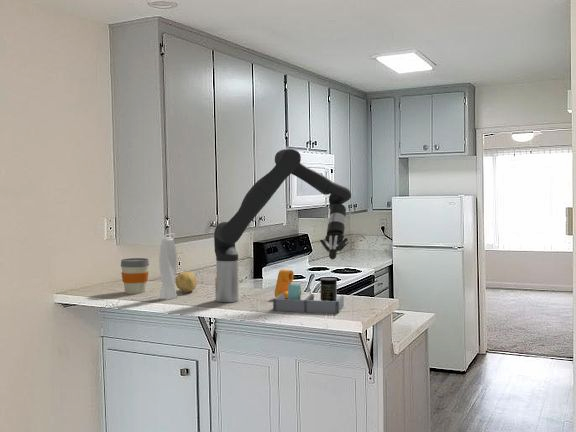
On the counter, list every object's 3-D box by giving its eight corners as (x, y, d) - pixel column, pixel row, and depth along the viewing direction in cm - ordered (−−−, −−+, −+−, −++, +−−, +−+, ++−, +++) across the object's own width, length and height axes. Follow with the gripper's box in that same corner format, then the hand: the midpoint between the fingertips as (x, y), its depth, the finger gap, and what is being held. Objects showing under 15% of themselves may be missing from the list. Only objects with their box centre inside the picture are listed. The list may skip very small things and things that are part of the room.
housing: (281, 303, 255) (281, 282, 255) (343, 306, 249) (343, 284, 249) (273, 310, 241) (273, 287, 241) (338, 313, 236) (338, 289, 235)
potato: (169, 293, 281) (169, 272, 280) (186, 288, 294) (186, 268, 293) (188, 295, 277) (188, 273, 276) (205, 290, 290) (204, 269, 290)
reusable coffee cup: (153, 292, 283) (153, 260, 282) (126, 295, 276) (126, 261, 275) (143, 289, 293) (142, 257, 292) (117, 291, 286) (116, 259, 285)
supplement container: (338, 305, 251) (338, 280, 251) (321, 305, 251) (321, 280, 250) (335, 302, 258) (335, 277, 258) (319, 302, 257) (319, 277, 257)
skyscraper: (169, 295, 274) (168, 232, 273) (181, 297, 270) (180, 233, 269) (155, 298, 268) (155, 233, 267) (168, 300, 264) (167, 234, 262)
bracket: (288, 300, 264) (288, 272, 263) (274, 298, 268) (274, 270, 267) (302, 296, 273) (302, 269, 272) (288, 295, 277) (288, 268, 276)
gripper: (319, 221, 274) (315, 254, 264) (348, 219, 270) (344, 252, 260) (324, 231, 280) (320, 264, 270) (353, 229, 275) (349, 262, 265)
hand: (332, 258), depth 265 cm, fingers closed
